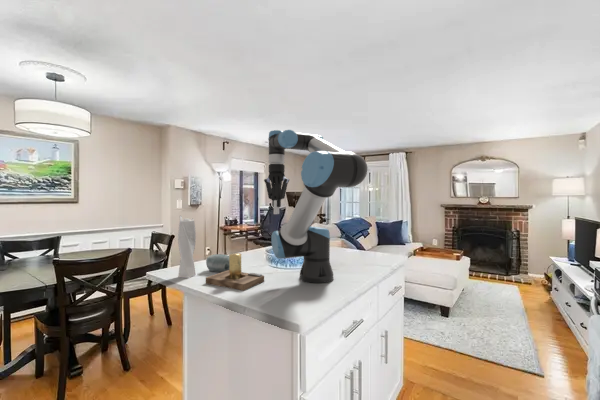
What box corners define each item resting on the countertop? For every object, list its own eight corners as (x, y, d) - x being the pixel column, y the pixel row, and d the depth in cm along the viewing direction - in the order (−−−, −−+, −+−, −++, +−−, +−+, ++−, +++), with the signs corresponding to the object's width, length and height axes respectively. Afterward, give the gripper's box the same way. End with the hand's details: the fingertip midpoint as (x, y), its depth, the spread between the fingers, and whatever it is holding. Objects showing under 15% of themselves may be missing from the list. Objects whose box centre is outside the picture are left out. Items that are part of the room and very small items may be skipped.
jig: (264, 281, 125) (264, 274, 125) (243, 290, 113) (243, 282, 113) (228, 275, 134) (228, 268, 134) (205, 283, 122) (205, 276, 122)
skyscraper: (173, 277, 130) (173, 215, 130) (184, 273, 138) (184, 214, 137) (188, 279, 128) (188, 215, 128) (199, 274, 135) (199, 214, 135)
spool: (239, 262, 146) (230, 247, 142) (231, 275, 137) (222, 259, 134) (218, 266, 150) (208, 251, 147) (209, 279, 142) (199, 264, 139)
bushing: (243, 281, 125) (243, 253, 124) (236, 284, 120) (236, 256, 120) (234, 280, 127) (234, 252, 127) (227, 283, 122) (226, 254, 122)
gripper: (292, 164, 137) (292, 214, 138) (269, 165, 143) (269, 213, 144) (284, 162, 131) (284, 214, 131) (260, 164, 137) (260, 214, 137)
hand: (276, 214), depth 137 cm, fingers closed
